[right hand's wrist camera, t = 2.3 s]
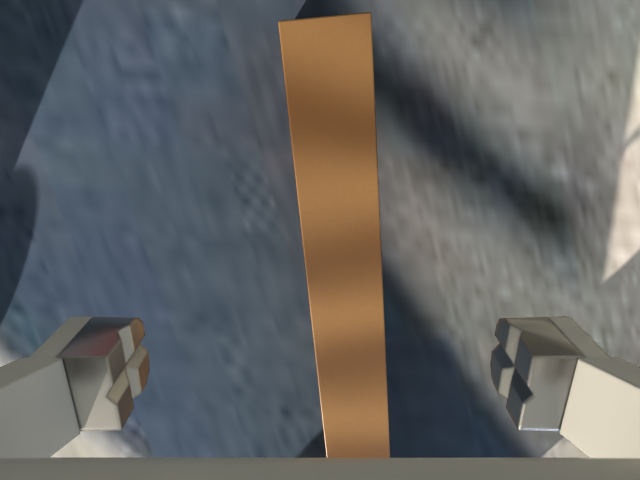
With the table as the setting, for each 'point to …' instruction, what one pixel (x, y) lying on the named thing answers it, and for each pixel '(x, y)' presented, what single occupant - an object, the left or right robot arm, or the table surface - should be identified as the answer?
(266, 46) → the table surface
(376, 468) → the right robot arm
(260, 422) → the table surface
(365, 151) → the beam
